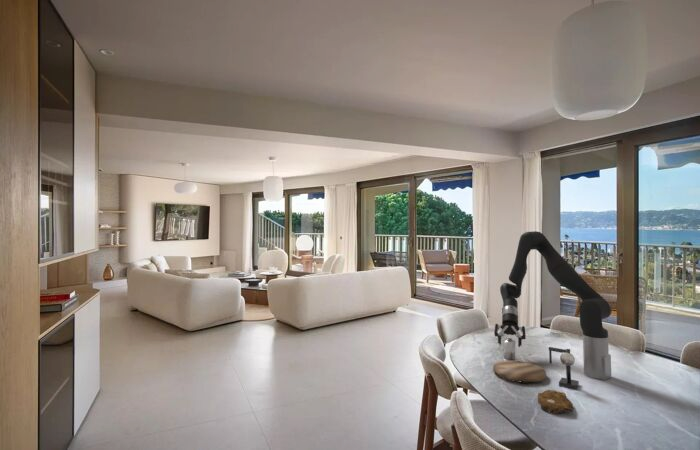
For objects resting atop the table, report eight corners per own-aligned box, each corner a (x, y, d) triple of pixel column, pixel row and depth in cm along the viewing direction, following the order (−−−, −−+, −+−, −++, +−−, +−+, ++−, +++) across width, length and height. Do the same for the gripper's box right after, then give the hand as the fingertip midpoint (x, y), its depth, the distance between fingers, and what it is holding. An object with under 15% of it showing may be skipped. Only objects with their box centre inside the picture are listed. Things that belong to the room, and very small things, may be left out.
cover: (520, 362, 177) (519, 339, 177) (512, 365, 173) (511, 341, 173) (507, 358, 183) (506, 336, 183) (499, 361, 179) (498, 338, 179)
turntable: (555, 374, 159) (555, 370, 159) (528, 386, 147) (528, 382, 147) (510, 360, 176) (510, 357, 176) (483, 370, 164) (483, 366, 164)
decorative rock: (535, 396, 142) (539, 415, 128) (534, 385, 142) (538, 403, 128) (569, 398, 138) (577, 419, 124) (568, 388, 138) (576, 407, 124)
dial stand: (578, 384, 150) (577, 349, 150) (576, 389, 146) (574, 352, 146) (551, 378, 157) (550, 344, 157) (548, 383, 152) (547, 347, 152)
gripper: (494, 311, 191) (493, 339, 180) (525, 313, 185) (525, 342, 174) (495, 319, 196) (494, 347, 185) (525, 321, 189) (525, 350, 179)
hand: (509, 344), depth 180 cm, fingers open, 8 cm apart
